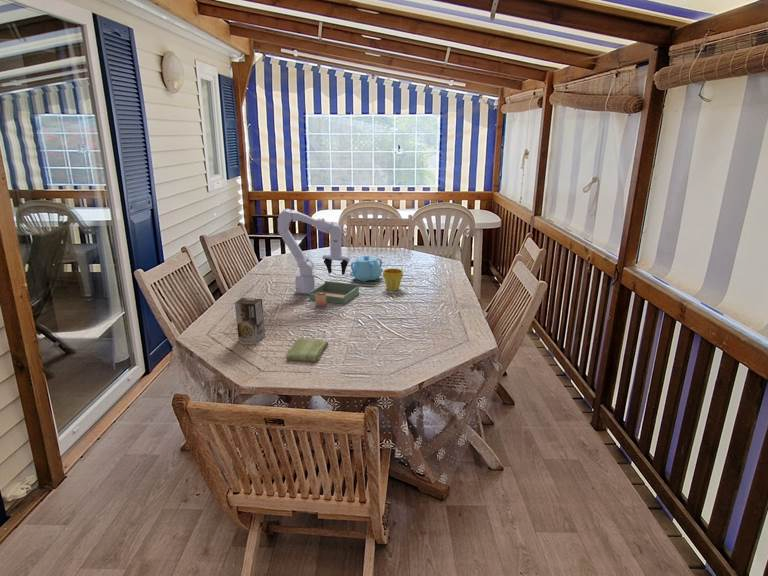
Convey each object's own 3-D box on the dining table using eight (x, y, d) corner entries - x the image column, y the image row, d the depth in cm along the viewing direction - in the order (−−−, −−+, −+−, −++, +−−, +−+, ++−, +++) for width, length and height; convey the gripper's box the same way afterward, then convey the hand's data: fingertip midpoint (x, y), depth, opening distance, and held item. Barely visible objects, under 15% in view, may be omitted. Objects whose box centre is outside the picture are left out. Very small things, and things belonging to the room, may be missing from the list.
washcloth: (329, 344, 199) (329, 337, 198) (318, 364, 182) (317, 356, 181) (297, 342, 201) (296, 335, 200) (283, 362, 184) (282, 354, 183)
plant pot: (400, 292, 261) (401, 274, 258) (381, 291, 263) (381, 273, 260) (404, 286, 271) (404, 268, 268) (385, 285, 273) (385, 267, 270)
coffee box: (265, 336, 206) (262, 298, 201) (258, 342, 200) (255, 303, 195) (245, 334, 208) (242, 297, 203) (237, 340, 202) (234, 302, 197)
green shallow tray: (309, 299, 250) (309, 290, 248) (325, 289, 265) (325, 280, 264) (344, 304, 244) (344, 294, 242) (358, 293, 259) (358, 284, 257)
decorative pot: (373, 284, 274) (373, 260, 270) (347, 281, 281) (346, 257, 277) (385, 277, 289) (385, 254, 284) (360, 273, 295) (360, 251, 291)
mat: (304, 307, 239) (304, 307, 239) (314, 301, 248) (314, 301, 247) (327, 310, 235) (327, 310, 234) (336, 304, 243) (336, 303, 243)
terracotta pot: (313, 306, 240) (313, 294, 238) (319, 303, 244) (318, 291, 243) (323, 307, 238) (323, 295, 236) (328, 304, 243) (328, 292, 241)
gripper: (319, 248, 255) (320, 274, 259) (345, 250, 251) (346, 277, 255) (325, 245, 262) (326, 270, 266) (351, 247, 257) (351, 273, 261)
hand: (336, 273), depth 261 cm, fingers open, 7 cm apart
